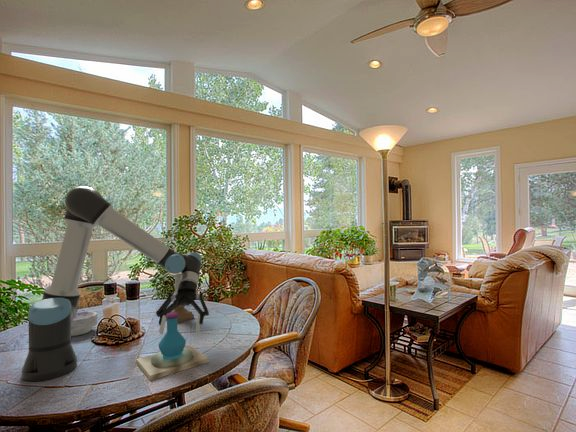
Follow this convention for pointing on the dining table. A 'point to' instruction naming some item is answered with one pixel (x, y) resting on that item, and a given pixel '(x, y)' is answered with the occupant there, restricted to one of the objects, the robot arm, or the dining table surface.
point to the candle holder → (182, 312)
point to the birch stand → (170, 363)
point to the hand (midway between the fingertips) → (179, 332)
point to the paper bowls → (83, 322)
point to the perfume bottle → (172, 339)
